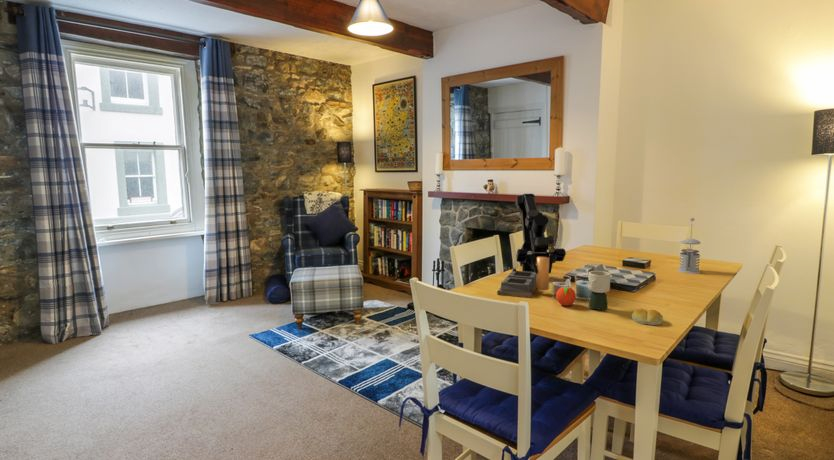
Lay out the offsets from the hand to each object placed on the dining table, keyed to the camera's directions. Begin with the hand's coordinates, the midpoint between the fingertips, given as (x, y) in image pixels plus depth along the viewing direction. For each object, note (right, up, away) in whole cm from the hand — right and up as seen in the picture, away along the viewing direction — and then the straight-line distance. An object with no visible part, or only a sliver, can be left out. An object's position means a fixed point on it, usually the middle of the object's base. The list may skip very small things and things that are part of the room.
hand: (543, 273), depth 181 cm
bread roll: (+26, -13, -30) cm, 42 cm away
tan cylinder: (0, -6, +2) cm, 7 cm away
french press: (+77, -3, +34) cm, 84 cm away
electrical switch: (+25, -7, +11) cm, 29 cm away
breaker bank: (-7, -7, +12) cm, 16 cm away
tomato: (+5, -11, -13) cm, 17 cm away
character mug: (+15, -11, -17) cm, 25 cm away
